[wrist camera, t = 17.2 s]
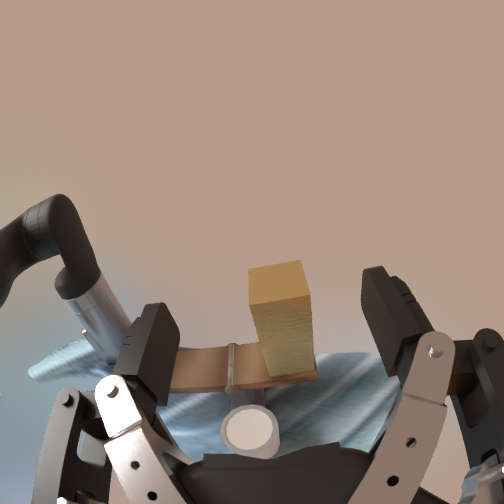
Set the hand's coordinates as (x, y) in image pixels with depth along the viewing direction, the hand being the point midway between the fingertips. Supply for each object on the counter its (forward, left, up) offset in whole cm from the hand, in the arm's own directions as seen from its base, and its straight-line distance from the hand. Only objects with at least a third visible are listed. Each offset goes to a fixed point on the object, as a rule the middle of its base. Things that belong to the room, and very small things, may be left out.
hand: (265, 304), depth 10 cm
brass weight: (+6, +9, -20) cm, 23 cm away
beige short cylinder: (-3, +6, -30) cm, 31 cm away
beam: (0, +13, -20) cm, 24 cm away
